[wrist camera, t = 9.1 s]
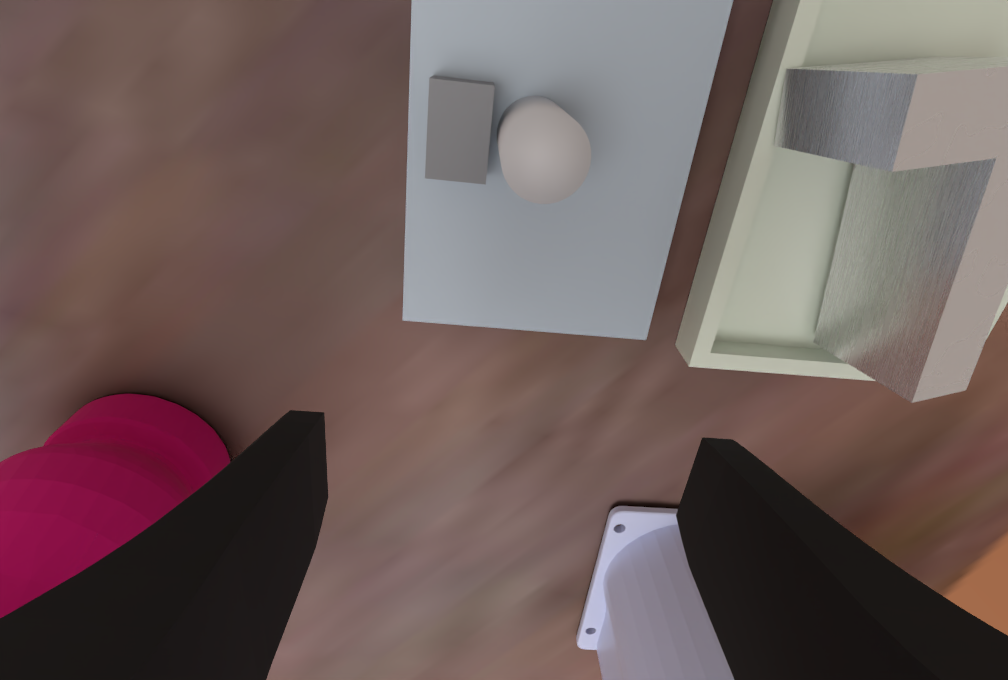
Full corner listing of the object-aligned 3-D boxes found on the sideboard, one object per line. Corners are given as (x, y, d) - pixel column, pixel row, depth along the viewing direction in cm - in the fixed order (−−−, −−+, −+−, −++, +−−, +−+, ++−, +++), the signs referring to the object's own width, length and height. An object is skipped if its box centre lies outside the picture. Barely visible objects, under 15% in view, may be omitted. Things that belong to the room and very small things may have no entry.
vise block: (631, 314, 20) (679, 399, 16) (409, 295, 20) (386, 378, 15) (728, -96, 15) (849, -161, 10) (424, -141, 14) (395, -235, 9)
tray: (928, 365, 22) (958, 387, 21) (674, 344, 21) (689, 366, 20) (1165, -82, 15) (1234, -94, 14) (812, -138, 15) (847, -157, 13)
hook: (860, 332, 21) (966, 390, 17) (739, 357, 19) (825, 422, 16) (936, 56, 16) (1096, 58, 13) (786, 68, 15) (918, 74, 12)
